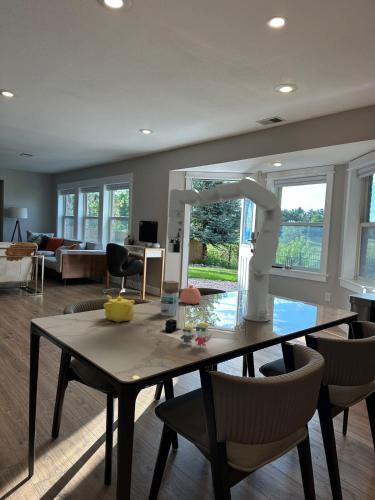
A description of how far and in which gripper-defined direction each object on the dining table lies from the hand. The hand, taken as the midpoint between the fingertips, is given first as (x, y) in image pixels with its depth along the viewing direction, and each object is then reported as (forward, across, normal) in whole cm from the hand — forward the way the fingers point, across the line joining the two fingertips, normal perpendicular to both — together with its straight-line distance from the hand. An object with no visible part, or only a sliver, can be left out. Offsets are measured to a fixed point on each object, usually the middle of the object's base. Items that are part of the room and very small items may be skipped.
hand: (173, 251), depth 177 cm
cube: (0, 0, 0) cm, 0 cm away
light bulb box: (+31, -2, +1) cm, 31 cm away
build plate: (+31, -29, +13) cm, 45 cm away
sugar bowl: (+30, +18, -22) cm, 42 cm away
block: (+20, -2, +2) cm, 20 cm away
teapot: (+31, -7, +28) cm, 43 cm away
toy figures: (+30, -50, +13) cm, 60 cm away
